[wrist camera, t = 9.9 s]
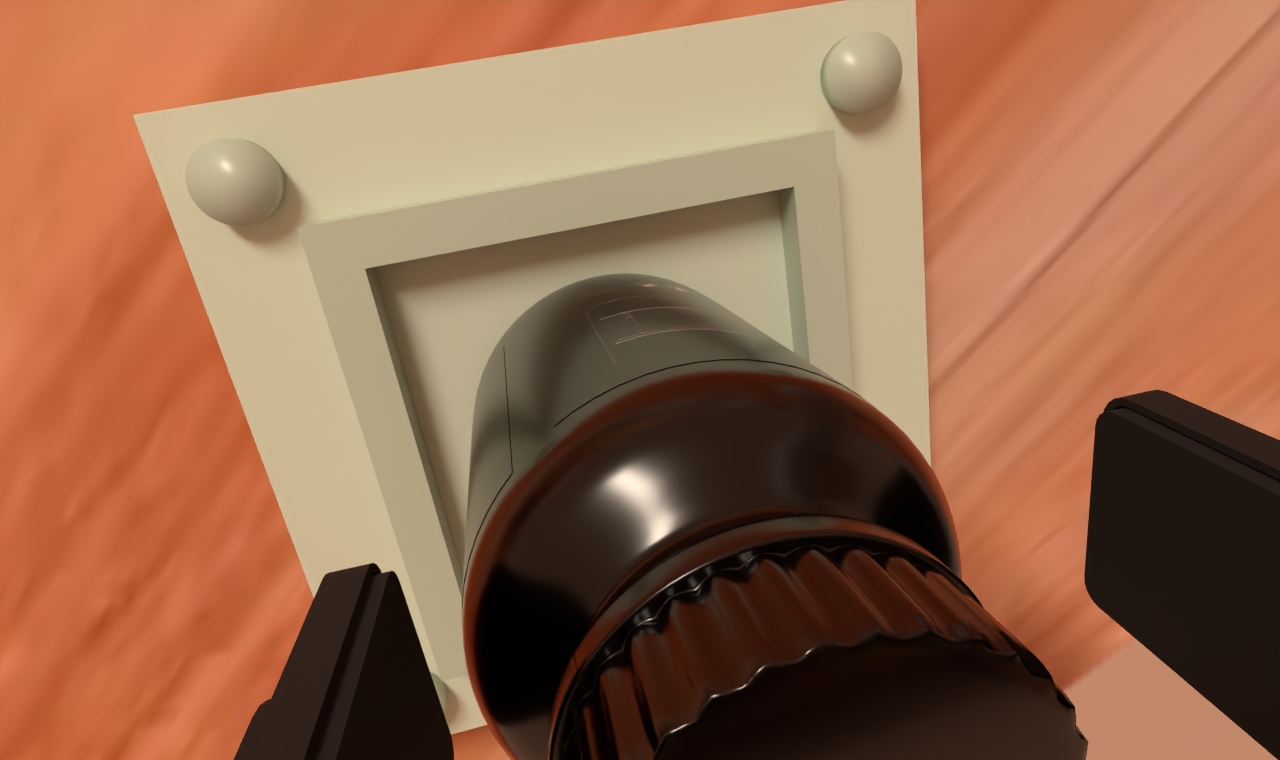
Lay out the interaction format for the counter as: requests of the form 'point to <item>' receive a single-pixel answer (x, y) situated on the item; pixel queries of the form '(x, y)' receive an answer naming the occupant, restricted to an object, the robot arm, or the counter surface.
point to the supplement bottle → (719, 555)
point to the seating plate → (537, 249)
